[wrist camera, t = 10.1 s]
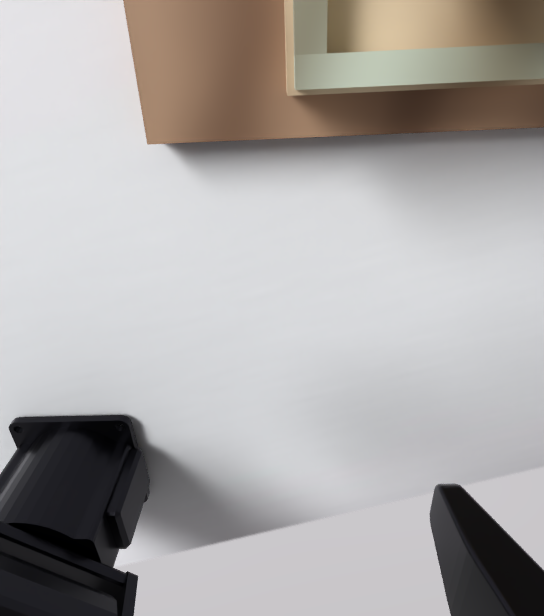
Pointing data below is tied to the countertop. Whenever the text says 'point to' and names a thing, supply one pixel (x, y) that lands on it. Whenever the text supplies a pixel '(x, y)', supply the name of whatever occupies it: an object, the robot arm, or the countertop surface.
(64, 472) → the robot arm
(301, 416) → the countertop surface
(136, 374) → the countertop surface
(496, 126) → the plinth
